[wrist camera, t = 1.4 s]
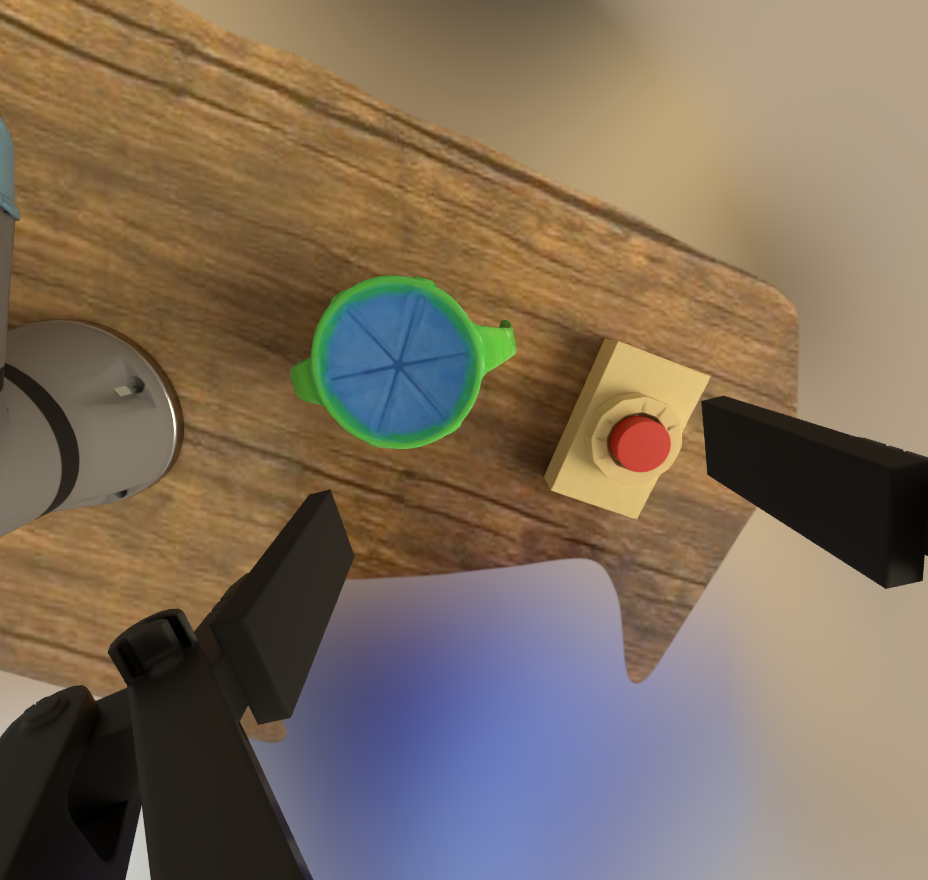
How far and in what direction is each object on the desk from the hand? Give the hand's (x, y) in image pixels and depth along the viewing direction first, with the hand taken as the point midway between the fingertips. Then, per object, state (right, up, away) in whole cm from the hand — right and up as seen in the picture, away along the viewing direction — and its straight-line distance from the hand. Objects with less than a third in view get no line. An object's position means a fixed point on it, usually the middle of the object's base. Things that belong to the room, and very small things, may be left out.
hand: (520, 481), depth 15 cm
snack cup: (-6, +9, +21) cm, 24 cm away
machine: (+11, +3, +23) cm, 26 cm away
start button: (+11, +1, +19) cm, 22 cm away
